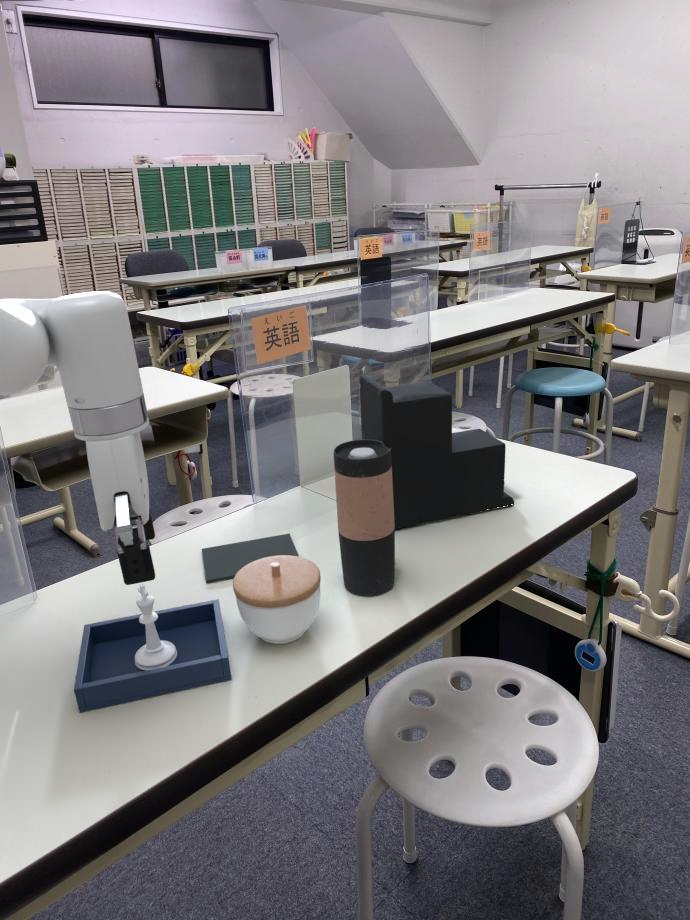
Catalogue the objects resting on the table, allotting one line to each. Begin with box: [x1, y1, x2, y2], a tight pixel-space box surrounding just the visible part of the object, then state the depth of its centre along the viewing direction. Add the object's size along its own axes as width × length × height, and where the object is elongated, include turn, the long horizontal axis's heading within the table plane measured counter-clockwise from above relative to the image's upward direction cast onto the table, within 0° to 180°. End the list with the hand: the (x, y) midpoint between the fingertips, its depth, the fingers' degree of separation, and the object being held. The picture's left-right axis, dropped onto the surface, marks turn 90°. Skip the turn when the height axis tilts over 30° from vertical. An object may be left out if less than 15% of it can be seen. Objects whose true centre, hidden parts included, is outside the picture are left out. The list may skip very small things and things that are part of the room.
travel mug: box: [333, 439, 396, 597], centre depth 92 cm, size 8×8×20 cm
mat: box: [201, 533, 300, 584], centre depth 104 cm, size 14×10×1 cm
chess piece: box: [135, 584, 177, 671], centre depth 80 cm, size 5×5×10 cm
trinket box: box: [232, 555, 322, 645], centre depth 85 cm, size 11×11×9 cm
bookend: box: [358, 373, 515, 530], centre depth 112 cm, size 23×11×24 cm, turn 108°
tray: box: [73, 598, 233, 714], centre depth 81 cm, size 17×13×3 cm
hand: (141, 559), depth 77 cm, fingers open, 9 cm apart
